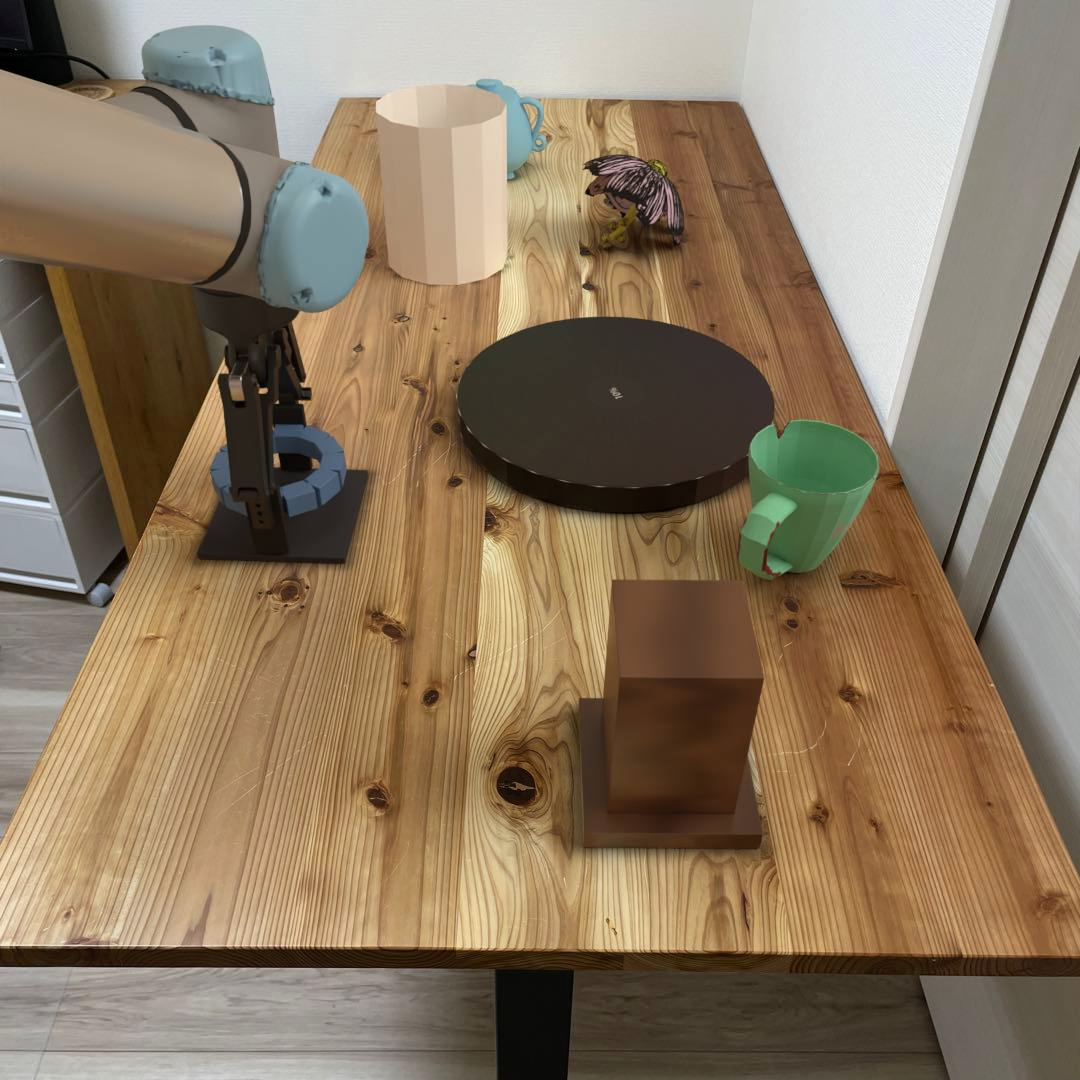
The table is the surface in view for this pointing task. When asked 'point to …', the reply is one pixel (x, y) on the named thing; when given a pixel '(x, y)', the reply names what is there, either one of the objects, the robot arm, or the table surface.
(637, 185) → the decorative flower
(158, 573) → the table surface
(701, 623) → the stand
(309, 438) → the ring
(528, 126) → the teapot
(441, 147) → the container
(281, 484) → the mat
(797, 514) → the mug
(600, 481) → the disc
